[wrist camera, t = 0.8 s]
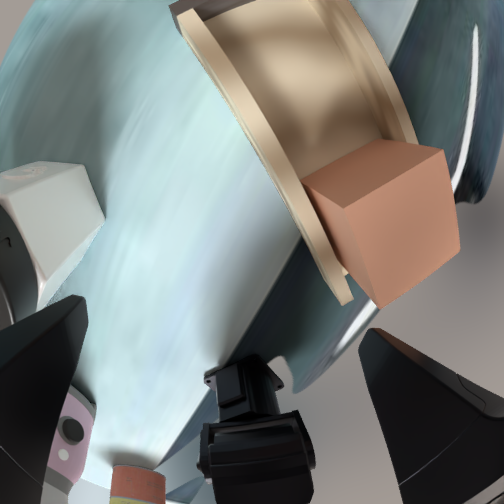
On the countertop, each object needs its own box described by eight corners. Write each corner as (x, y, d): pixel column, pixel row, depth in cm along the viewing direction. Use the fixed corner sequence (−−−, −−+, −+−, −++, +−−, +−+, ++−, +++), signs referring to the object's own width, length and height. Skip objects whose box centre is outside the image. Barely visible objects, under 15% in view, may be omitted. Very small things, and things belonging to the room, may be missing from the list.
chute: (413, 223, 22) (440, 239, 19) (323, 279, 23) (342, 305, 20) (298, -18, 13) (315, -42, 9) (176, 28, 14) (168, 5, 10)
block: (403, 216, 21) (460, 250, 14) (336, 258, 21) (379, 309, 15) (377, 138, 18) (443, 149, 11) (298, 180, 18) (343, 208, 12)
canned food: (102, 462, 36) (96, 511, 25) (150, 466, 36) (149, 519, 26) (129, 480, 41) (127, 523, 30) (174, 482, 41) (175, 528, 30)
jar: (111, 164, 17) (3, 215, 6) (105, 266, 20) (40, 378, 9) (20, 156, 15) (-90, 197, 4) (22, 248, 18) (-58, 328, 7)
